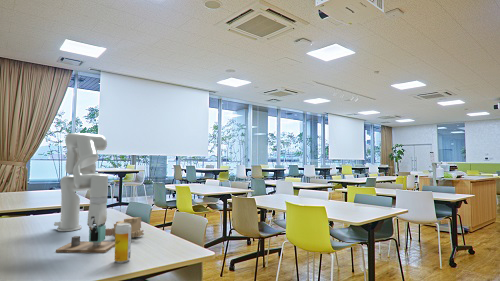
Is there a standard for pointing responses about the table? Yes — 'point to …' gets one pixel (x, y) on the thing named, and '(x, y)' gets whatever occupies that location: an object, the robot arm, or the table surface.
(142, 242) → the table surface
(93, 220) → the robot arm
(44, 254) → the table surface
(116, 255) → the beer can
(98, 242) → the tall post
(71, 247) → the stand
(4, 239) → the table surface
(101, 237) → the teal block
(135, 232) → the toy
